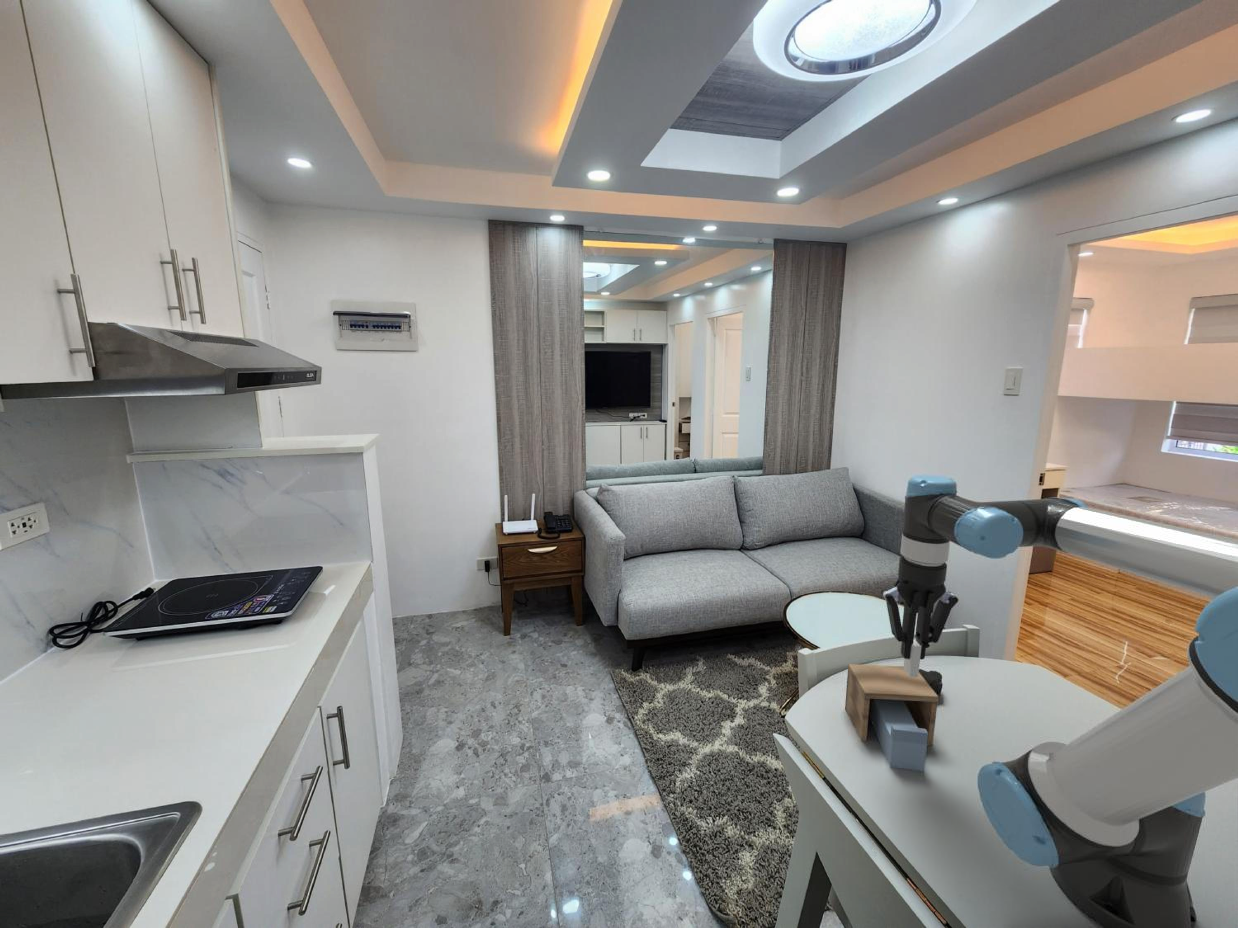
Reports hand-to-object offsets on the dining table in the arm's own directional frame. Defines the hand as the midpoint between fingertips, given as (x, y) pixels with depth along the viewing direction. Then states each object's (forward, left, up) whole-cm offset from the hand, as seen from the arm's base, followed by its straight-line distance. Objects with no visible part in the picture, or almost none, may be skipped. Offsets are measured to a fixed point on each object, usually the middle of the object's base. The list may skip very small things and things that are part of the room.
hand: (910, 672), depth 96 cm
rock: (+19, -11, -18) cm, 29 cm away
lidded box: (+3, 0, -18) cm, 19 cm away
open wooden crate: (+8, 0, -18) cm, 20 cm away
